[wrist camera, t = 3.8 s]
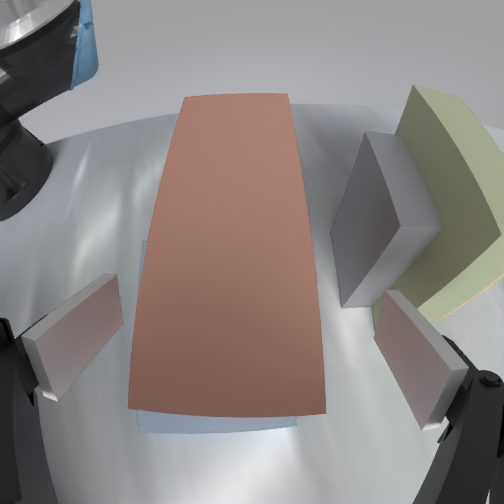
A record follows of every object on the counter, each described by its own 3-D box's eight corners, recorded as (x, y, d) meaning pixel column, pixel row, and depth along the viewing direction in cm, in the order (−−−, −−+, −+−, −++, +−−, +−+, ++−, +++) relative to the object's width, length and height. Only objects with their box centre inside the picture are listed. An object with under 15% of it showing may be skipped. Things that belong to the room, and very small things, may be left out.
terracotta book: (219, 263, 26) (185, 96, 12) (272, 262, 26) (287, 92, 12) (215, 408, 20) (128, 408, 6) (276, 408, 20) (326, 413, 6)
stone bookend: (330, 233, 30) (365, 131, 18) (357, 233, 30) (402, 136, 18) (341, 308, 26) (400, 226, 14) (371, 306, 26) (443, 227, 14)
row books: (355, 224, 30) (412, 83, 15) (418, 225, 30) (489, 107, 15) (375, 337, 24) (501, 234, 9) (444, 328, 24) (568, 237, 9)
